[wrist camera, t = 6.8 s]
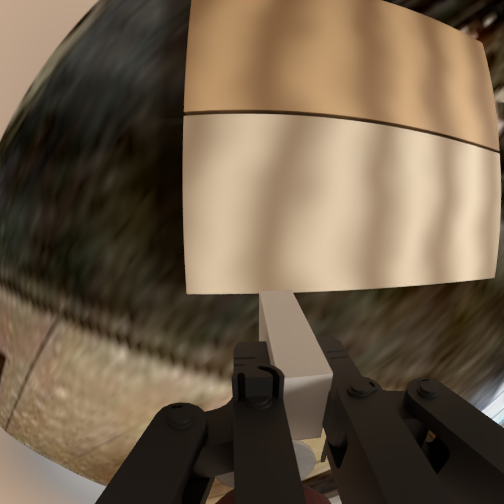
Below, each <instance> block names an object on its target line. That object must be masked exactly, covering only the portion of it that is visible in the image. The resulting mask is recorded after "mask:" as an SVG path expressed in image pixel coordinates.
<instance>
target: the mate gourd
mask: <svg viewBox="0 0 504 504" xmlns="http://www.w3.org/2000/svg"><path fill="white" fill-rule="evenodd" d="M292 442H293V446H294V451H295V455H296V459H297V464H298V468H299V473H300V477H301V480H303V479H305V478H306V477H307V476H308V475H309V474H310V473H311V472H312V471H313V469H314V467H315V464H316V458H315V454H314V452H313V450H312V449H311V448H310V446H308V445H307V444H305V443H304V442H301V441H299V440H294V441H292ZM215 477H216V478H217V479H218V480H219V481H221V482H222V483H223V484H225V485H227V486H229V487H232V488H234V472H230V473H226V474H222V475H218V476H215ZM302 486H303V491H304V495H305V499H306V504H331V502H330V501H329V500H328V498H326V497H325V496H324V495H322V494H321V493H319V492H317V491H315V490H314V489H312V488H310V487H309V486H307V485H304V484H302ZM215 504H235V496H234V489H233V490H231V491H229V492H228V493H227V494H226V495H224V496H223V497H222V498H221V499H220V500H219V501H218V502H217V503H215Z"/></svg>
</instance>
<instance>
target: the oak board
mask: <svg viewBox="0 0 504 504" xmlns="http://www.w3.org/2000/svg"><path fill="white" fill-rule="evenodd" d="M184 112H185V114H186V115H187V116H189V115H209V114H279V115H299V116H313V117H325V118H335V119H344V120H352V121H360V122H367V123H374V124H380V125H386V126H392V127H398V128H403V129H408V130H413V131H418V132H423V133H427V134H431V135H436V136H440V137H444V138H448V139H452V140H456V141H459V142H463V143H466V144H470V145H473V146H477V147H480V148H483V149H486V150H489V151H499V138H498V126H497V117H496V109H495V101H494V95H493V89H492V83H491V78H490V73H489V69H488V64H487V60H486V56H485V52H484V48H483V44H482V43H481V42H479V41H478V40H476V39H474V38H472V37H470V36H468V35H466V34H464V33H463V32H461V31H459V30H457V29H454V28H452V27H450V26H448V25H446V24H444V23H442V22H439V21H437V20H435V19H432V18H430V17H428V16H425V15H423V14H420V13H418V12H415V11H412V10H409V9H407V8H404V7H401V6H398V5H395V4H392V3H389V2H386V1H382V0H192V1H191V10H190V20H189V31H188V43H187V57H186V73H185V94H184Z"/></svg>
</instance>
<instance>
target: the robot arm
mask: <svg viewBox="0 0 504 504" xmlns="http://www.w3.org/2000/svg"><path fill="white" fill-rule="evenodd" d="M232 393H233V397H232V399H231V400H230V401H229V402H228V403H227V404H226V405H224V406H222V407H221V408H218V409H215V410H211V411H206V412H204V411H203V410H202V409H201V408H199V407H198V406H196V405H193V404H190V403H174V404H170V405H168V406H165V407H163V408H162V409H161V410H160V411H159V412H158V413H157V414H156V415H155V417H154V418H153V420H152V421H151V423H150V424H149V426H148V427H147V429H146V430H145V432H144V433H143V434H142V436H141V437H140V439H139V440H138V442H137V443H136V445H135V446H134V448H133V449H132V451H131V452H130V453H129V455H128V456H127V458H126V459H125V461H124V462H123V464H122V465H121V467H120V468H119V469H118V471H117V472H116V474H115V475H114V477H113V478H112V480H111V481H110V483H109V484H108V485H107V487H106V488H105V490H104V491H103V493H102V494H101V496H100V497H99V498H98V500H97V501H96V503H95V504H205V502H206V500H207V497H208V495H209V492H210V489H211V487H212V484H213V482H214V479H215V476H218V475H222V474H226V473H230V472H234V496H235V504H306V499H305V495H304V491H303V486H302V482H301V477H300V473H299V468H298V464H297V459H296V455H295V451H294V446H293V442H292V441H294V440H303V439H311V438H319V437H321V433H322V429H323V428H324V431H325V434H326V440H325V444H324V448H323V452H322V456H321V462H325V459H326V455H327V458H328V461H329V464H330V467H331V471H332V474H333V477H334V480H335V483H336V486H337V489H338V493H339V496H340V499H341V502H342V504H504V428H503V427H502V426H500V425H499V424H497V423H496V422H495V421H493V420H492V419H490V418H489V417H488V416H486V415H485V414H484V413H482V412H481V411H479V410H478V409H477V408H475V407H474V406H472V405H471V404H470V403H468V402H467V401H466V400H464V399H463V398H461V397H460V396H459V395H457V394H456V393H454V392H453V391H452V390H450V389H449V388H448V387H446V386H445V385H443V384H442V383H441V382H439V381H437V380H435V379H431V378H417V379H414V380H412V381H411V382H410V383H409V384H408V386H407V389H406V391H386V390H383V389H382V388H381V386H380V385H379V384H378V383H377V382H376V381H374V380H372V379H370V378H366V377H362V375H361V374H360V372H359V370H358V369H357V367H356V366H355V364H354V362H353V361H352V359H351V358H350V357H349V354H348V353H347V351H345V348H344V346H343V345H342V343H341V342H340V341H338V340H337V339H335V338H334V337H332V336H325V337H315V336H314V334H313V332H312V330H311V328H310V326H309V324H308V322H307V320H306V318H305V316H304V314H303V312H302V310H301V308H300V306H299V304H298V302H297V300H296V298H295V296H294V294H293V292H292V290H280V291H259V341H257V342H239V343H238V345H237V346H236V347H235V348H234V373H233V376H232ZM430 431H431V432H432V433H433V434H434V435H435V438H434V439H430V438H428V437H427V436H428V434H429V432H430Z"/></svg>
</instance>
